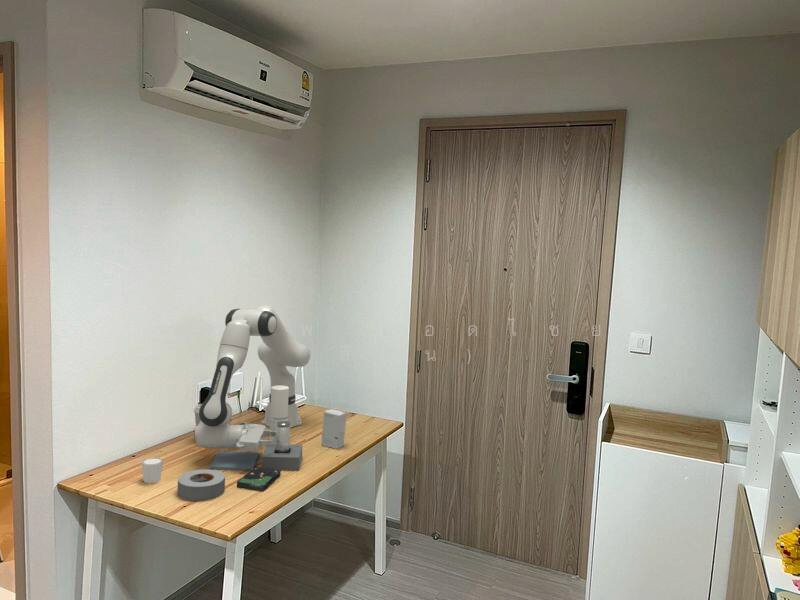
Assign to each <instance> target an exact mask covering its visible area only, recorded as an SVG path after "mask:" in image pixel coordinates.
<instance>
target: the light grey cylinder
mask: <svg viewBox="0 0 800 600" xmlns="http://www.w3.org/2000/svg"><path fill="white" fill-rule="evenodd" d="M163 463H164V461H163V459H161V458H158V457H151V458H146V459H144V460H142V462H141V469H142V470H141V471H142V480H143V481H144V482H145V483H144V482H143V481H142V482H143V483H144V484H147V483H153V484H156V483H155V482H157V483H159V482H161V480H162V471H163ZM158 481H159V482H158Z"/></svg>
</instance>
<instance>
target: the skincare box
mask: <svg viewBox="0 0 800 600" xmlns="http://www.w3.org/2000/svg"><path fill="white" fill-rule="evenodd" d="M347 416H348V415H347V412H345V411H341V410H337V409H332V408H331V409H327V410H324V411H323V422H322V434H321V444H320V445H321V446H323V447H327V448H331V449H335V450H338V449H340V448H342V447H344V445H345V437H346V436H345V435H346V425H347V424H346V423H347Z"/></svg>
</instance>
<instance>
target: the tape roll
mask: <svg viewBox="0 0 800 600" xmlns="http://www.w3.org/2000/svg"><path fill="white" fill-rule="evenodd" d="M225 488H226V476H225V474H224V473H223V472H222V471H221V470H214V469H209V468H208V469H206V468H205V469H197V470H196V469H195V470H191V471H187V472H184V473H183V474H180V475H179V477H178V478H177V496H178V497H179V498H180V499H182V500H185V501H191V502H192V501H193V502H203V501H209V500H213V499H216V498H218V497H220V496H222V495H224V493H225V490H226V489H225Z"/></svg>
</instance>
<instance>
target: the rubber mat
mask: <svg viewBox="0 0 800 600" xmlns="http://www.w3.org/2000/svg"><path fill="white" fill-rule="evenodd" d="M259 456H260V452H257V451H217V454H216V455H215V457H214V458H213V459H212V461H211V463H210V465H209V466H208V470H214V469H216V471H221V470H222V471H251V470H252V469H253V468H255V467H256V463H257V462H258V459H259ZM217 469H218V470H217Z"/></svg>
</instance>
